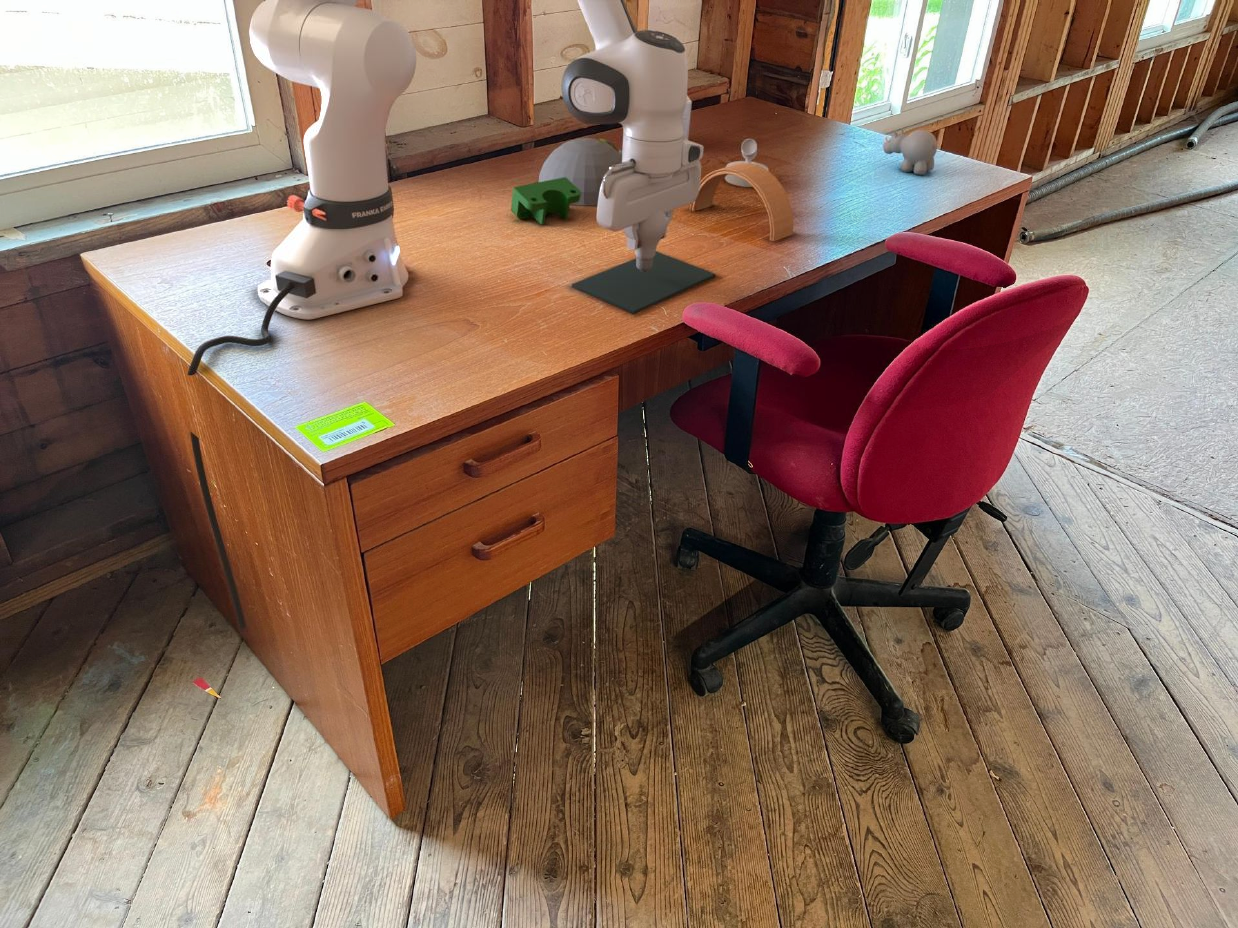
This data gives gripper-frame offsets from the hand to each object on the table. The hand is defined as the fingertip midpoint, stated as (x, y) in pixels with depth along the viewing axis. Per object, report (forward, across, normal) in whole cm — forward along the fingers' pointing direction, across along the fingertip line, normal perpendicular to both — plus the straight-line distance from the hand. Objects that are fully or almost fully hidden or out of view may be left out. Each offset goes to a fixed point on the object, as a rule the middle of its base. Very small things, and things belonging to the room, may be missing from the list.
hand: (646, 243), depth 145 cm
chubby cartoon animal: (+7, +87, 0) cm, 87 cm away
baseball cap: (+7, +28, +36) cm, 46 cm away
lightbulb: (+5, 0, 0) cm, 5 cm away
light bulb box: (+7, +60, +44) cm, 75 cm away
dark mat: (+6, 0, 0) cm, 6 cm away
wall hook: (+7, +53, +18) cm, 56 cm away
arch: (+7, +33, +5) cm, 34 cm away
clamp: (+7, +8, +30) cm, 32 cm away
